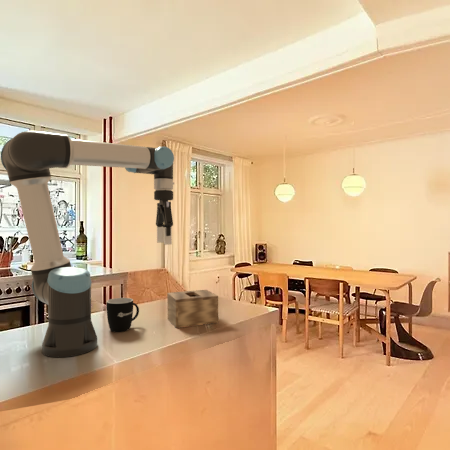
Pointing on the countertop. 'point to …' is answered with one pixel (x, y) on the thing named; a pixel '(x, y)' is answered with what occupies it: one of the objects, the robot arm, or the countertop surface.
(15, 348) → the countertop surface
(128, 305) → the mug
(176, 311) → the coin box
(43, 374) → the countertop surface
